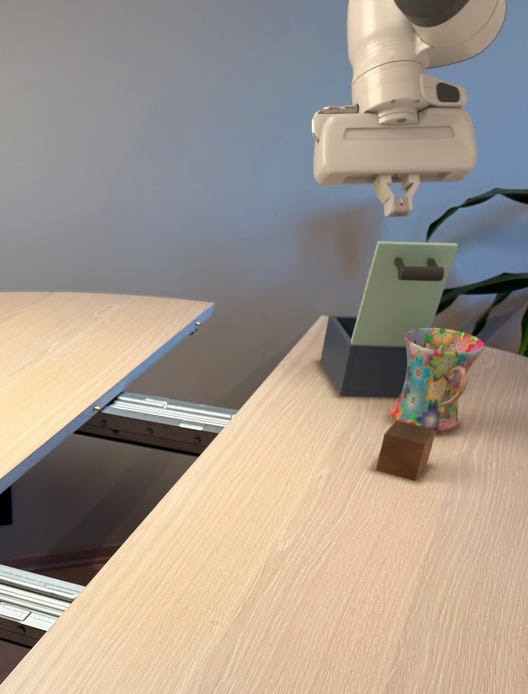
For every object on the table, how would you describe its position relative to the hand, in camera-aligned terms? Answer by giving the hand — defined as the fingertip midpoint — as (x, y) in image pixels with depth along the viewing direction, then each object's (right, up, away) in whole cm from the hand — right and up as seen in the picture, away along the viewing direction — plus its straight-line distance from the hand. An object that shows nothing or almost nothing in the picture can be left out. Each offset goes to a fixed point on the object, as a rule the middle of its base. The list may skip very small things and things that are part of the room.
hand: (398, 214), depth 123 cm
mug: (+4, -26, +2) cm, 27 cm away
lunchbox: (0, -17, +15) cm, 22 cm away
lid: (+1, -10, +1) cm, 10 cm away
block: (-3, -33, -8) cm, 34 cm away
